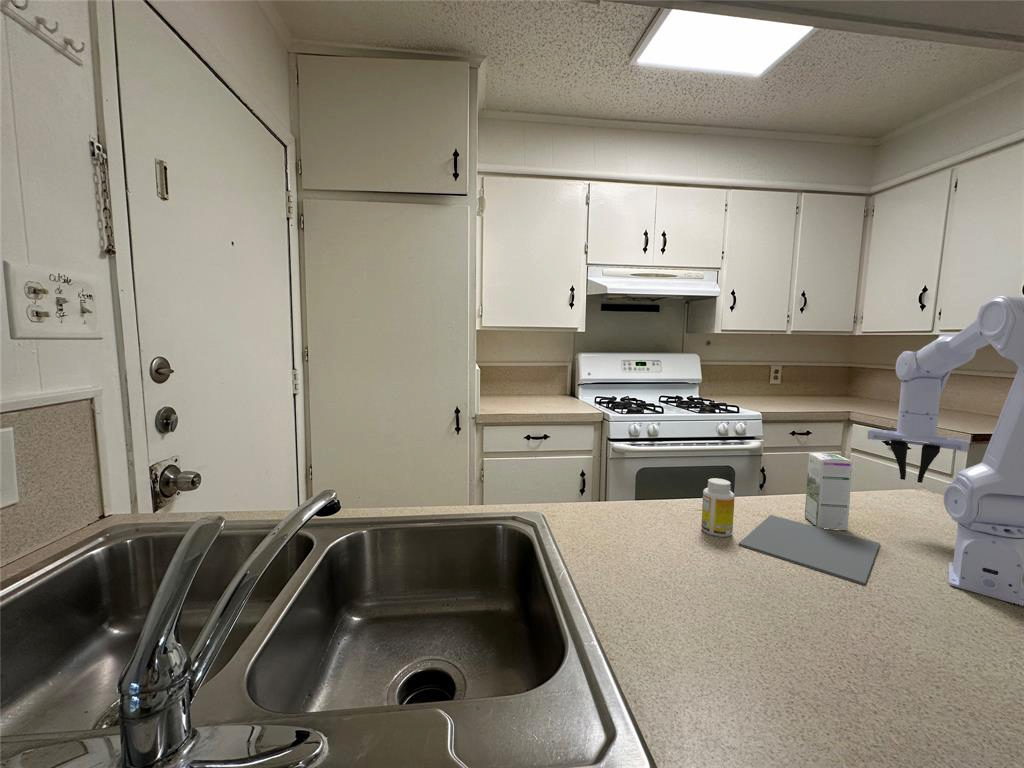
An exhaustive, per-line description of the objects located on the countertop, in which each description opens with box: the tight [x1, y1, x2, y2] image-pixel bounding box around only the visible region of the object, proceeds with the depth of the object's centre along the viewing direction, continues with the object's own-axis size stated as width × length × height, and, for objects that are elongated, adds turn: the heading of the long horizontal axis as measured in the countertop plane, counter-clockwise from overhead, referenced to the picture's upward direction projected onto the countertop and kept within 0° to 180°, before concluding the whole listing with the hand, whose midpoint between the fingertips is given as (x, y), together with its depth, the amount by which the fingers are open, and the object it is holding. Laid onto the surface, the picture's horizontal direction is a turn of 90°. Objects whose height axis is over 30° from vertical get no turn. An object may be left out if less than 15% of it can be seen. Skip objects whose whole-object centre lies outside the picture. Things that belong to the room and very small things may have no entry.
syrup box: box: [804, 452, 853, 531], centre depth 88 cm, size 6×6×14 cm
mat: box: [738, 514, 880, 586], centre depth 79 cm, size 20×18×1 cm
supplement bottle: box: [701, 477, 735, 538], centre depth 83 cm, size 6×6×10 cm
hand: (911, 480), depth 85 cm, fingers closed
